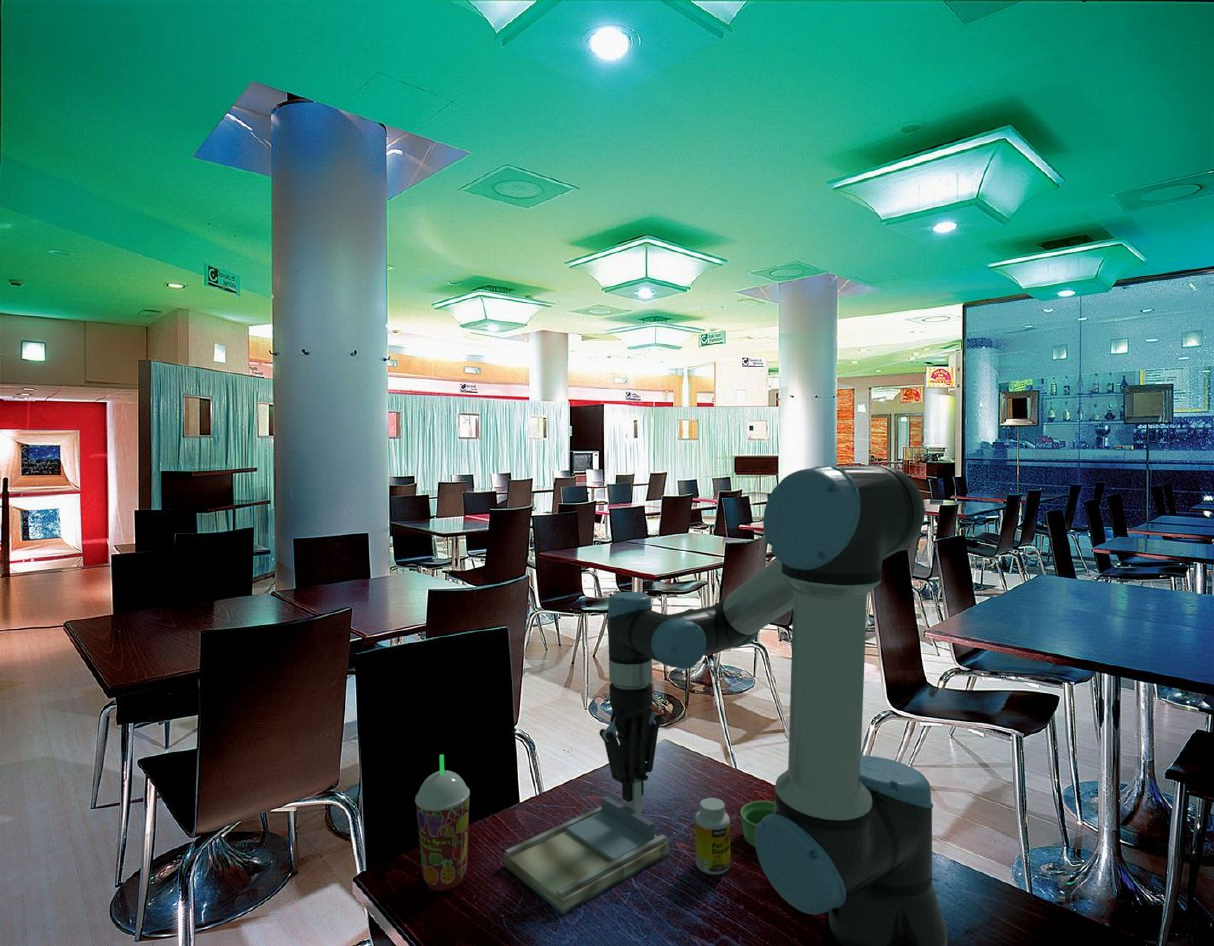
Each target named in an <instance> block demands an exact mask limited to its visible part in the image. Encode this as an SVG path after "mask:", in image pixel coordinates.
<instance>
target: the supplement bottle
mask: <svg viewBox="0 0 1214 946" xmlns="http://www.w3.org/2000/svg"><path fill="white" fill-rule="evenodd" d="M725 805H726V804H725V803H724V801H723V800H721V799H719V798H716V797H707V798H704V799H702V800H701V801H700V802H699V811H697V813H696V814H695V818H694V822H695V824H694V826H695V829H694V830H695V831H694V832H695V836H694V837H695V840H694V842H695V864H696V866H697V868H698V869H699V870H700V871H701V872H703V873H705V874H708V875H715V876H717V875H721V874H724V873H727V871H728V870H729V869H730V867H731V820H730V816H729V814H728V813H727V812H726V809H725V808H726V806H725Z"/></svg>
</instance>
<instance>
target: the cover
mask: <svg viewBox="0 0 1214 946" xmlns="http://www.w3.org/2000/svg"><path fill="white" fill-rule="evenodd" d="M600 800H601V801H600V807H601V812H600V813H597V814H595V815H593V816H591V817H589V818H587V819H584V820H582V821H580V822H578V823H576V824H574V825H572V826H569V827H567V832H569V833H570V834H572V835H573V836H575V837H576V838H578V839H579V840H581V841H582V842H584V843H585V844H587V845H588V846H590V847H591V848H593V849H594V850H596V851H597V852H599V853H600V854H602V855H603V856H605V857H606V858H608V859H609V860H611V861H613V860H615V859H617V858H619V857H621V856H622V855H624V854H626V853H628V852H630V851H632V850H634V849H636V848H638V847H639V846H641V845H643V844H645V843H647V842H649V841H651V840H653V839H654V838H655V835H656V834H655V822H654V821H652V820H650V819H648V818H647V817H645V816H643V815H642V816H641V815H640V814H638V813H636V812H634V811H633V810H631V809H629V808H627V807H626V806H625V804H622V803H620V802H619V801H617V800H615V799H613V798H611V797H609V796H608V795H604V796H602V797H601V798H600Z"/></svg>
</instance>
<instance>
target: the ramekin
mask: <svg viewBox="0 0 1214 946" xmlns="http://www.w3.org/2000/svg"><path fill="white" fill-rule="evenodd" d="M774 809H775V801H770V800H755V801H751V802H748V803H746V804H745V805H743V806H742V807H741V809H740V813H739V814H740V818H741V823H742V832H743V833H742V834H743V838H744V839H745V841H746V842H747V843H748V844H749V845H750V846H752V847H754V848H756V847H755V831H756V828H757V825H758V824H759V822H760V821H762V819H763V818H764V817H765V816H766V815H768V814H773V812H774Z"/></svg>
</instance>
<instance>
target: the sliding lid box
mask: <svg viewBox="0 0 1214 946" xmlns="http://www.w3.org/2000/svg"><path fill="white" fill-rule="evenodd" d="M600 812H601V806H599V807H597V808H593V809H592V810H589V811H588V812H586V813H584V814H582V815H579V816H577V817H574V818H573V819H569V820H568V821H566V822H564V823H561V824H559V825H557V826H555V827H553V828H551V829H548V830H546V831H544V832H542V833H539V834H538V835H536V836H534V837H531V838H529V839H527V840H525V841H523V842H520V843H518V844H515V845H513V846H511V847H509V848H507V849H505V852H504V853H503V866H504V867H505V868H507V870H509V871H510V872H511V873H513V875H514V876H516V877H517V878H518V879H520V880H521V881H522V882H523V883H525V885H527V887H529V888H530V889H532V890H533V891H534V892H536V894H537V895H539V896H540V897H541V898H543V899H544V900H545V901H546V902H547V903H548V904H549V905H551V906H552V907H553V908H554V909H556V910H557V911H558V912H559V913H560V914H562V915H565V914H566V913H568V912H570V911H571V910H574V909H575V908H577V907H579V906H581V905H582V904H584V903H586V902H588V901H590V900H591V899H593V898H594V897H596V896H598V895H600V894H602V893H604V892H606V891H607V890H609V889H610V888H612V887H614V886H616V885H618V884H619V883H621V882H623V881H625V880H627V879H628V878H630V877H631V876H633V875H636V874H637V873H639V872H641V871H643V870H644V869H646V868H648V867H650V866H652V865H653V864H655V863H657V862H658V861H660V860H662V859H664V858H665V857H667V856H669V855H670V847H669V846H670V843H669V842H668V841H667V836H666V835H664V834H660V835H656V834H655V838H654V839H653V840H651V841H649V842H647V843H645V844H643V845H641V846H639V847H638V848H636V849H634V850H632V851H630V852H628V853H626V854H624V855H622V856H621V857H619V858H617V859H615V860H613V861H611V860H609V859H608V858H606V857H605V856H603V855H602V854H600V853H599V852H597V851H596V850H594V849H593V848H591V847H590V846H588V845H587V844H585V843H584V842H582V841H581V840H579V839H578V838H576V837H575V836H573V835H572V834H570V833H569V832H567V827H569V826H572V825H574V824H576V823H578V822H580V821H582V820H584V819H587V818H589V817H591V816H593V815H595V814H597V813H600Z"/></svg>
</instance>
